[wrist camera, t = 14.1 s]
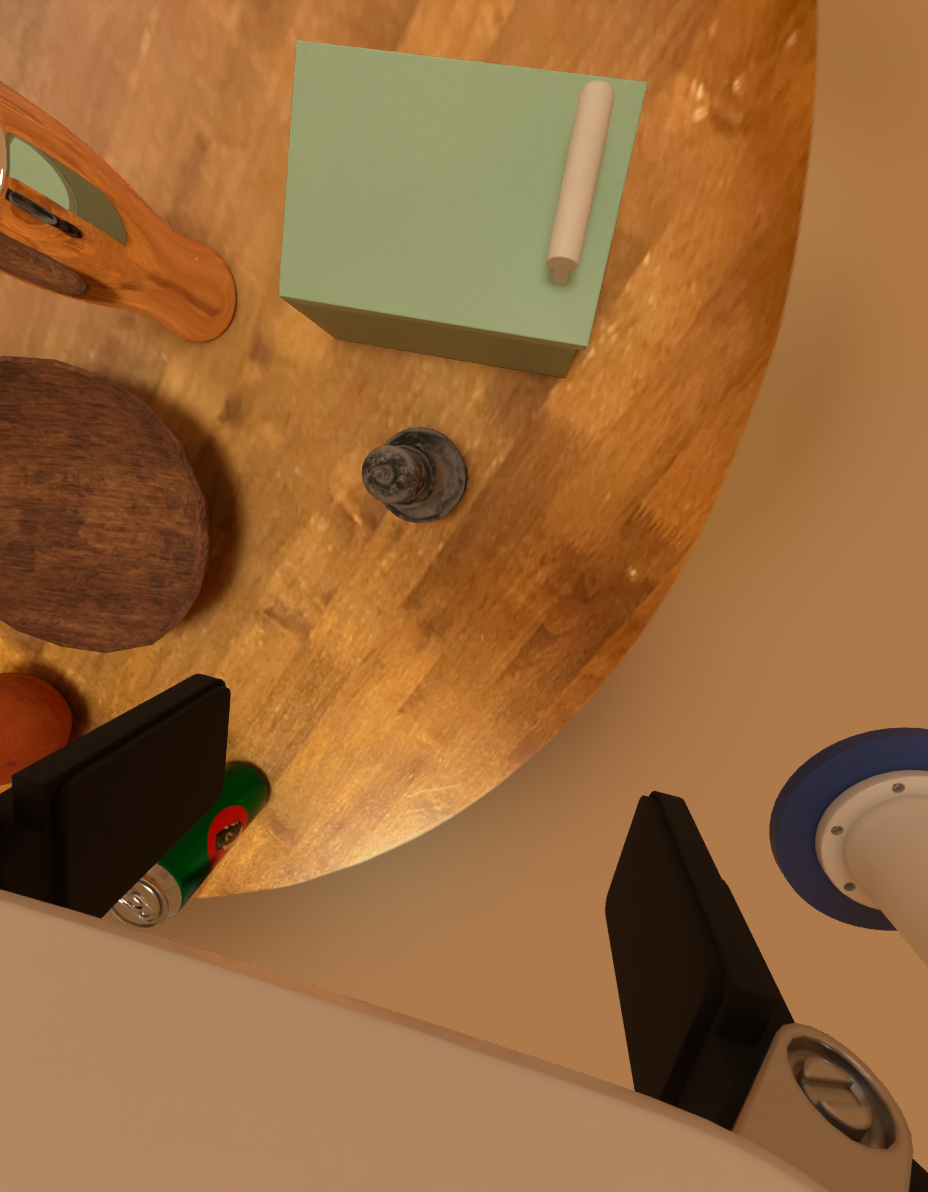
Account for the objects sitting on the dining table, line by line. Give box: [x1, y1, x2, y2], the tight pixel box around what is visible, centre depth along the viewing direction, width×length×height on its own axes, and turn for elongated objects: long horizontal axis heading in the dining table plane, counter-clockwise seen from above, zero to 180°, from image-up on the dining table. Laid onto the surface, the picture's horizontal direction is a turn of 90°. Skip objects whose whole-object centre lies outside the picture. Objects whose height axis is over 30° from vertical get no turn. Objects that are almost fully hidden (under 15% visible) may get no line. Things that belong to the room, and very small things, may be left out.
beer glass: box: [0, 81, 236, 342], centre depth 25 cm, size 7×7×15 cm
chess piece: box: [362, 427, 468, 523], centre depth 27 cm, size 6×6×12 cm
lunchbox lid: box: [279, 40, 647, 350], centre depth 21 cm, size 16×11×4 cm, turn 80°
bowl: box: [0, 356, 211, 653], centre depth 34 cm, size 20×22×5 cm
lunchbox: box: [287, 301, 576, 378], centre depth 26 cm, size 16×11×7 cm
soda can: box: [110, 764, 268, 930], centre depth 36 cm, size 5×5×12 cm
